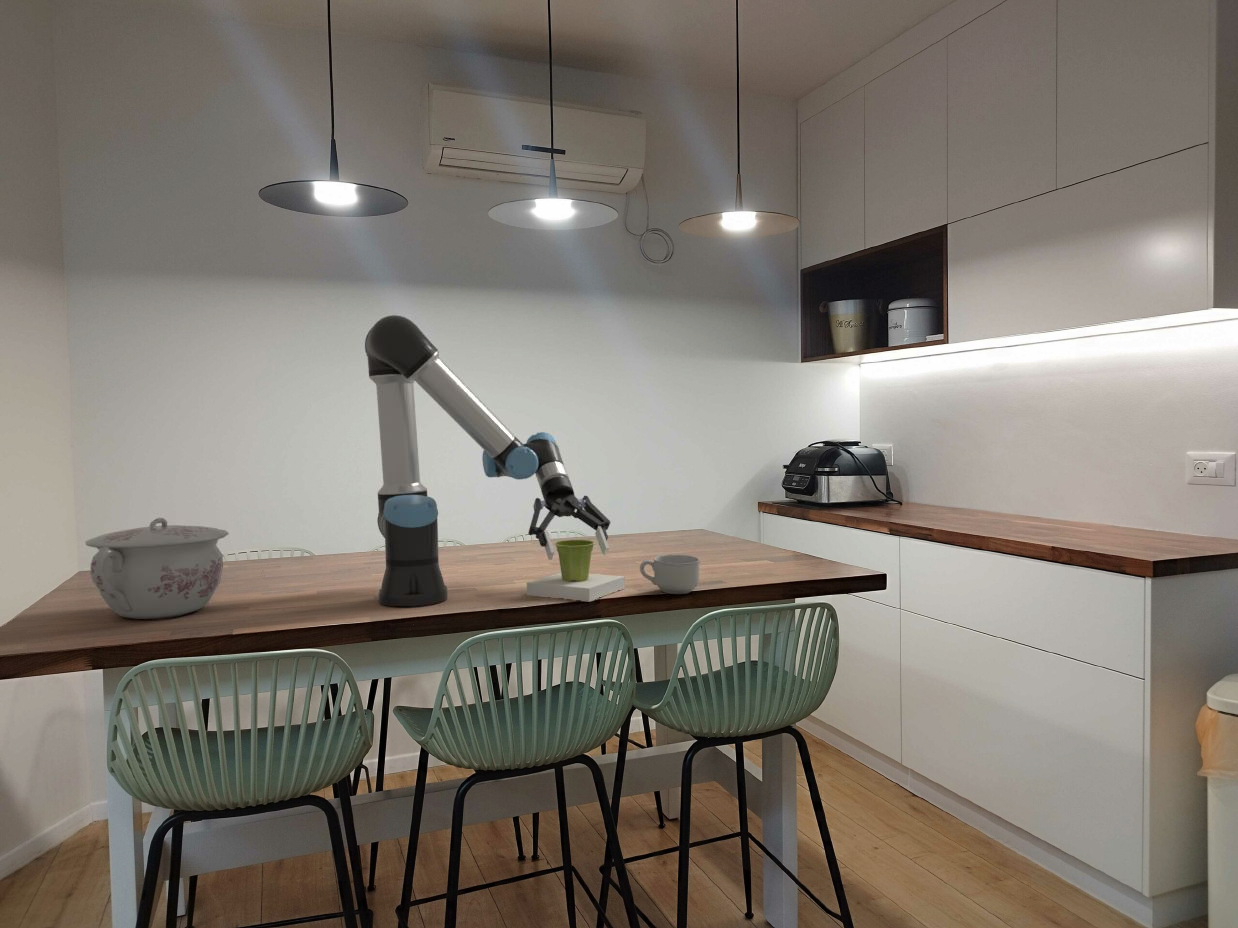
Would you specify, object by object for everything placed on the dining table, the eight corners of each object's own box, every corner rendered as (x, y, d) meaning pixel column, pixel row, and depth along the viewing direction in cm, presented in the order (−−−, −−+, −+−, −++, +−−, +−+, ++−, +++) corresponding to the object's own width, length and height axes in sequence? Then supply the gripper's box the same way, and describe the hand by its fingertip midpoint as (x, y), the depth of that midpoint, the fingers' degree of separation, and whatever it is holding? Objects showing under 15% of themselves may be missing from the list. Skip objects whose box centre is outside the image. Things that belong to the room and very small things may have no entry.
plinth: (526, 595, 200) (526, 582, 200) (565, 583, 214) (565, 571, 214) (589, 601, 192) (589, 588, 192) (625, 589, 206) (624, 576, 206)
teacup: (700, 587, 207) (700, 554, 206) (700, 596, 196) (699, 561, 195) (642, 587, 208) (641, 554, 208) (638, 596, 197) (638, 561, 197)
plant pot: (603, 578, 203) (603, 542, 203) (574, 584, 196) (573, 546, 196) (576, 574, 210) (575, 538, 209) (547, 579, 203) (546, 543, 202)
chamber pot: (214, 594, 207) (210, 508, 206) (247, 613, 186) (243, 517, 185) (76, 612, 190) (72, 518, 189) (95, 635, 168) (91, 529, 167)
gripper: (597, 492, 221) (623, 559, 209) (503, 497, 211) (524, 567, 198) (605, 472, 216) (632, 539, 203) (509, 476, 206) (531, 547, 193)
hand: (579, 553), depth 201 cm, fingers open, 13 cm apart
